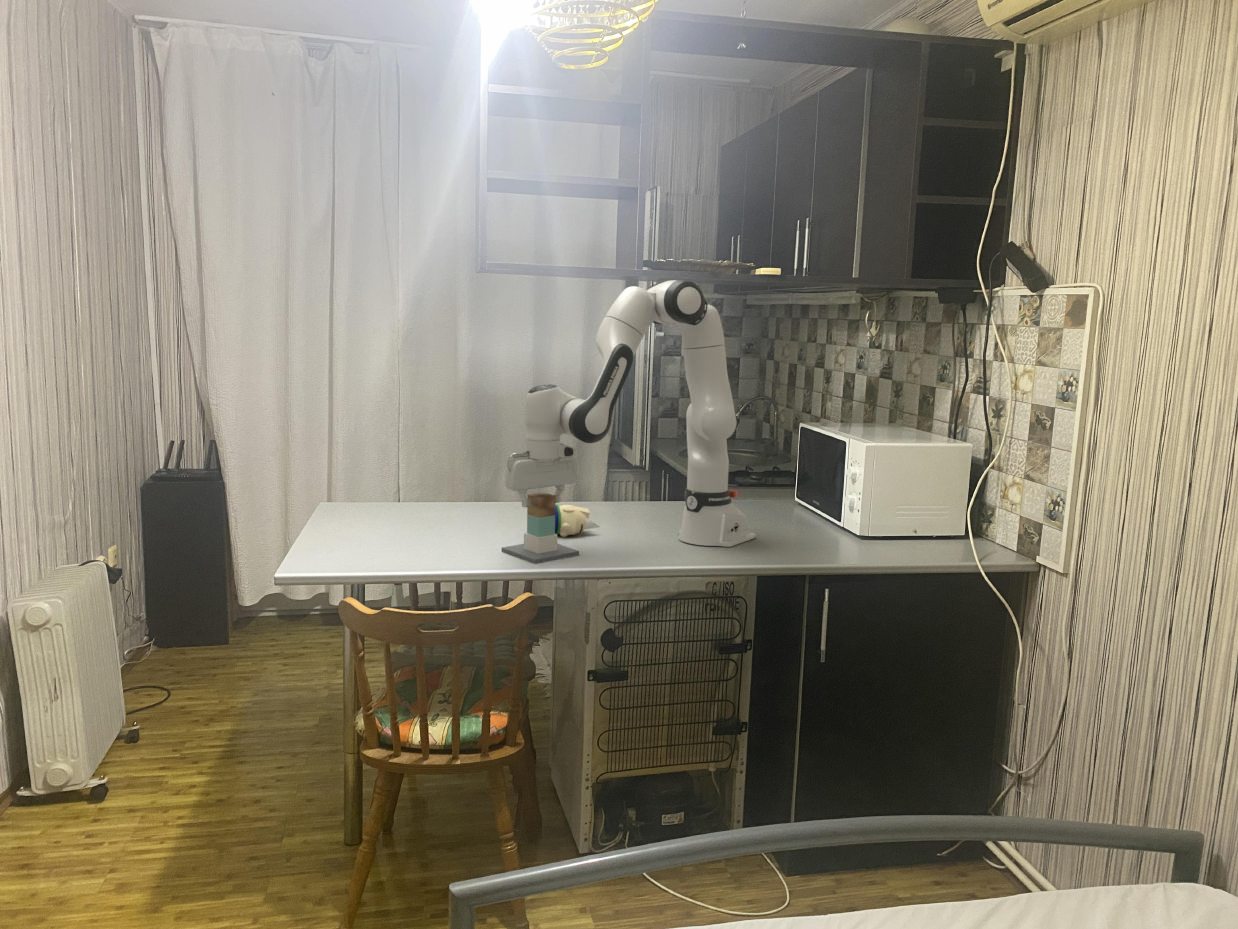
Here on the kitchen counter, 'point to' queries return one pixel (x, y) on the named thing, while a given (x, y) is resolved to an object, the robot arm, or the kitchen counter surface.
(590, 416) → the robot arm
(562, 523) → the cartoon head
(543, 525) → the teal block
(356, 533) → the kitchen counter surface
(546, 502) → the walnut block
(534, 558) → the build board
